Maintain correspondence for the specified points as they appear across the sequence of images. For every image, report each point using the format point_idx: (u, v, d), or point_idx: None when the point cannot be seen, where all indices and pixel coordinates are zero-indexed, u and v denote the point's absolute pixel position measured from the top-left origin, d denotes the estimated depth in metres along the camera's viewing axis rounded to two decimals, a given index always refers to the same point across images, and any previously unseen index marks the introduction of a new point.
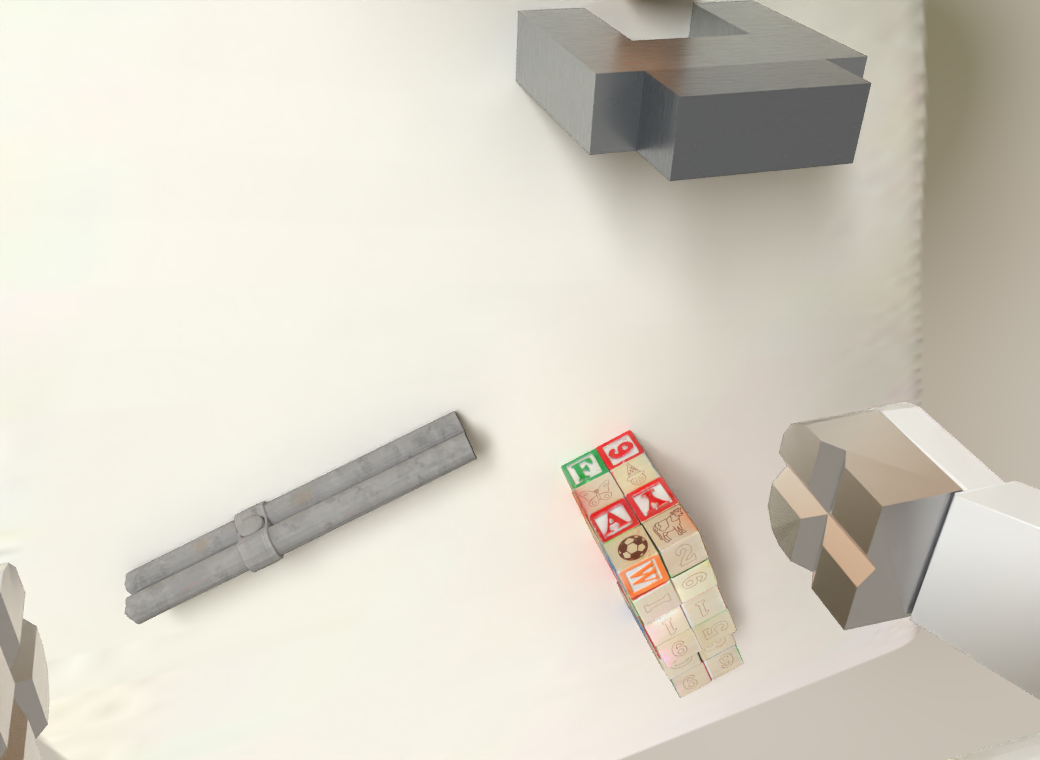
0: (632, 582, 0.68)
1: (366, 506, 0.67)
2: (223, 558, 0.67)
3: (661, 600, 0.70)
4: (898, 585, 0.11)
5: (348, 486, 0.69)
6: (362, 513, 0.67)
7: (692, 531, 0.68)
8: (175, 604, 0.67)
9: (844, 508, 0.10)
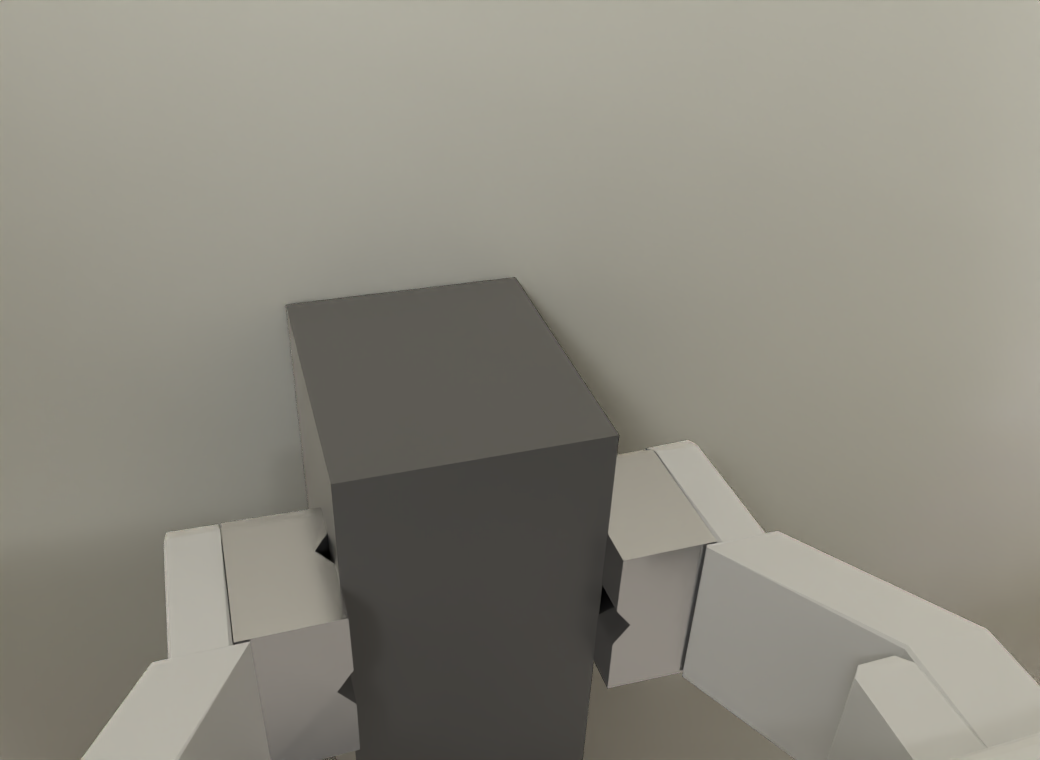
0: None
1: None
2: None
3: None
4: (662, 641, 0.10)
5: None
6: None
7: None
8: None
9: None
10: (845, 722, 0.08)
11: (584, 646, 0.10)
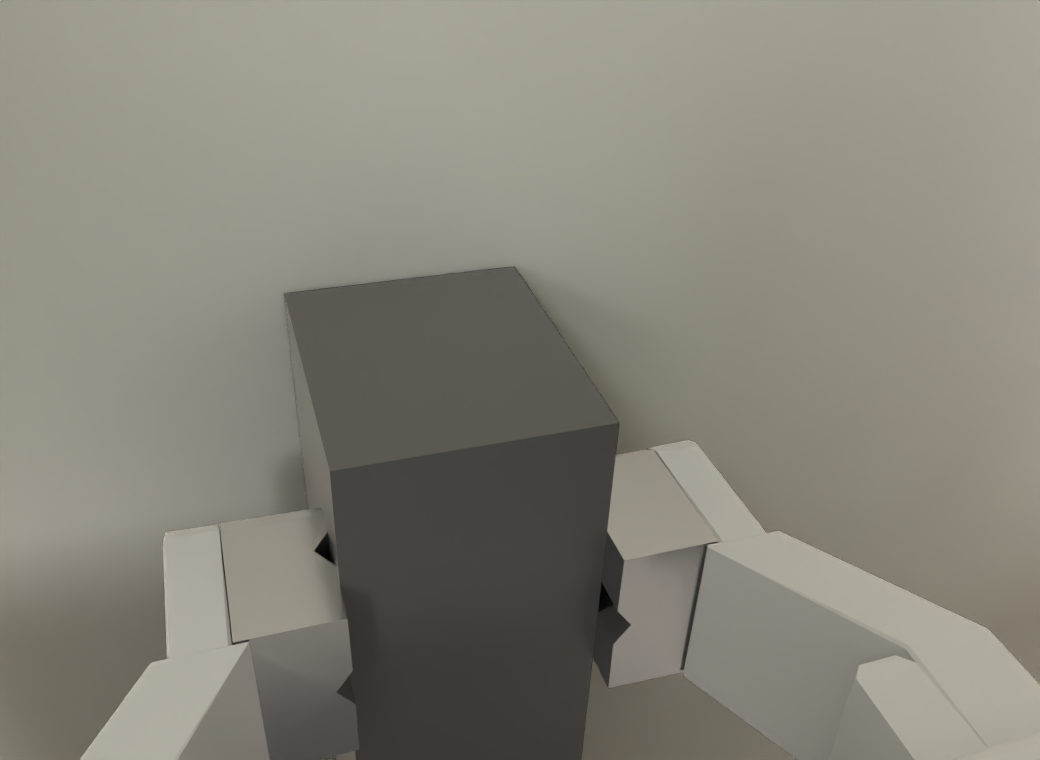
0: None
1: None
2: None
3: None
4: (662, 641, 0.10)
5: None
6: None
7: None
8: None
9: None
10: (846, 722, 0.08)
11: (584, 636, 0.10)
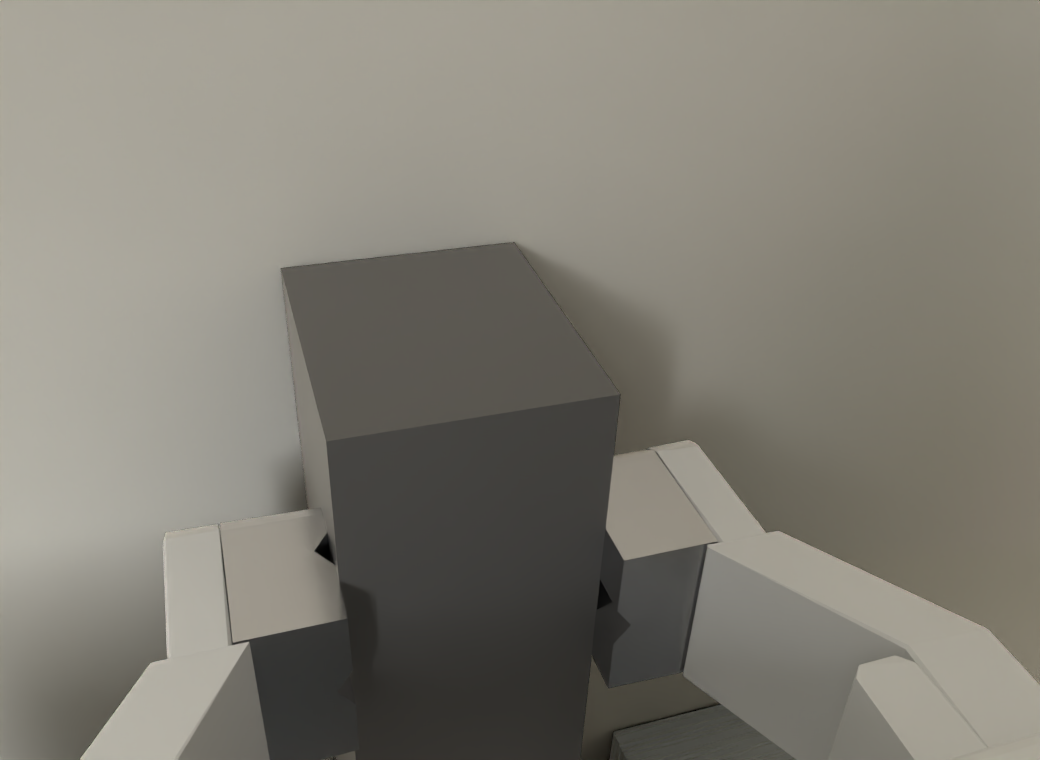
0: None
1: None
2: None
3: None
4: (662, 641, 0.10)
5: None
6: None
7: None
8: None
9: None
10: (846, 722, 0.08)
11: (585, 614, 0.10)
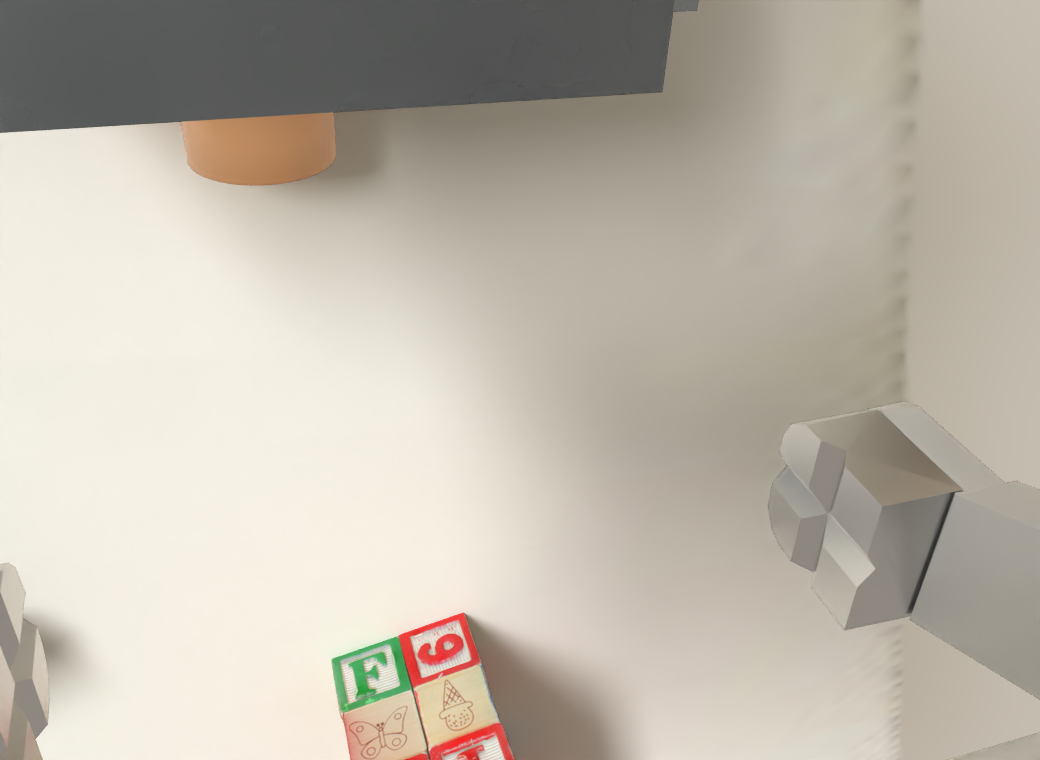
0: None
1: None
2: None
3: None
4: (898, 585, 0.11)
5: None
6: None
7: None
8: None
9: (844, 509, 0.10)
10: None
11: None
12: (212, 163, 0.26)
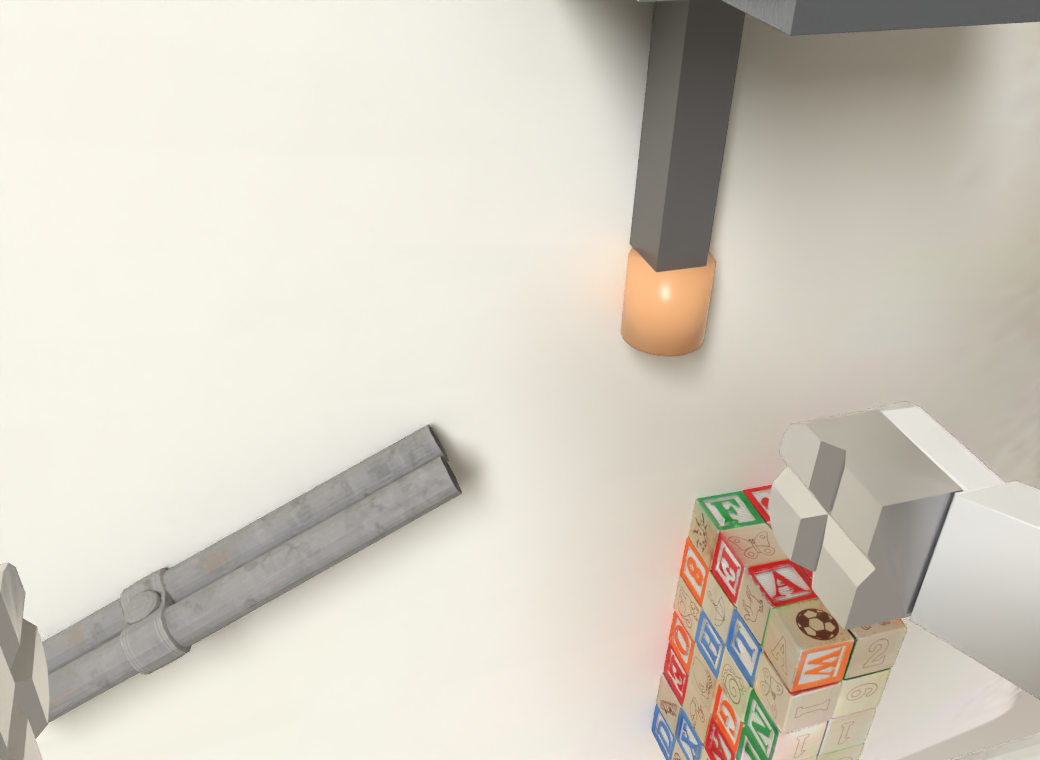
0: (805, 669, 0.50)
1: (302, 572, 0.46)
2: (100, 657, 0.46)
3: (818, 706, 0.52)
4: (898, 585, 0.11)
5: (280, 541, 0.48)
6: (299, 582, 0.46)
7: (898, 625, 0.51)
8: None
9: (844, 508, 0.10)
10: None
11: (741, 20, 0.39)
12: (648, 344, 0.46)
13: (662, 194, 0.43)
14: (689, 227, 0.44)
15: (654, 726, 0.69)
